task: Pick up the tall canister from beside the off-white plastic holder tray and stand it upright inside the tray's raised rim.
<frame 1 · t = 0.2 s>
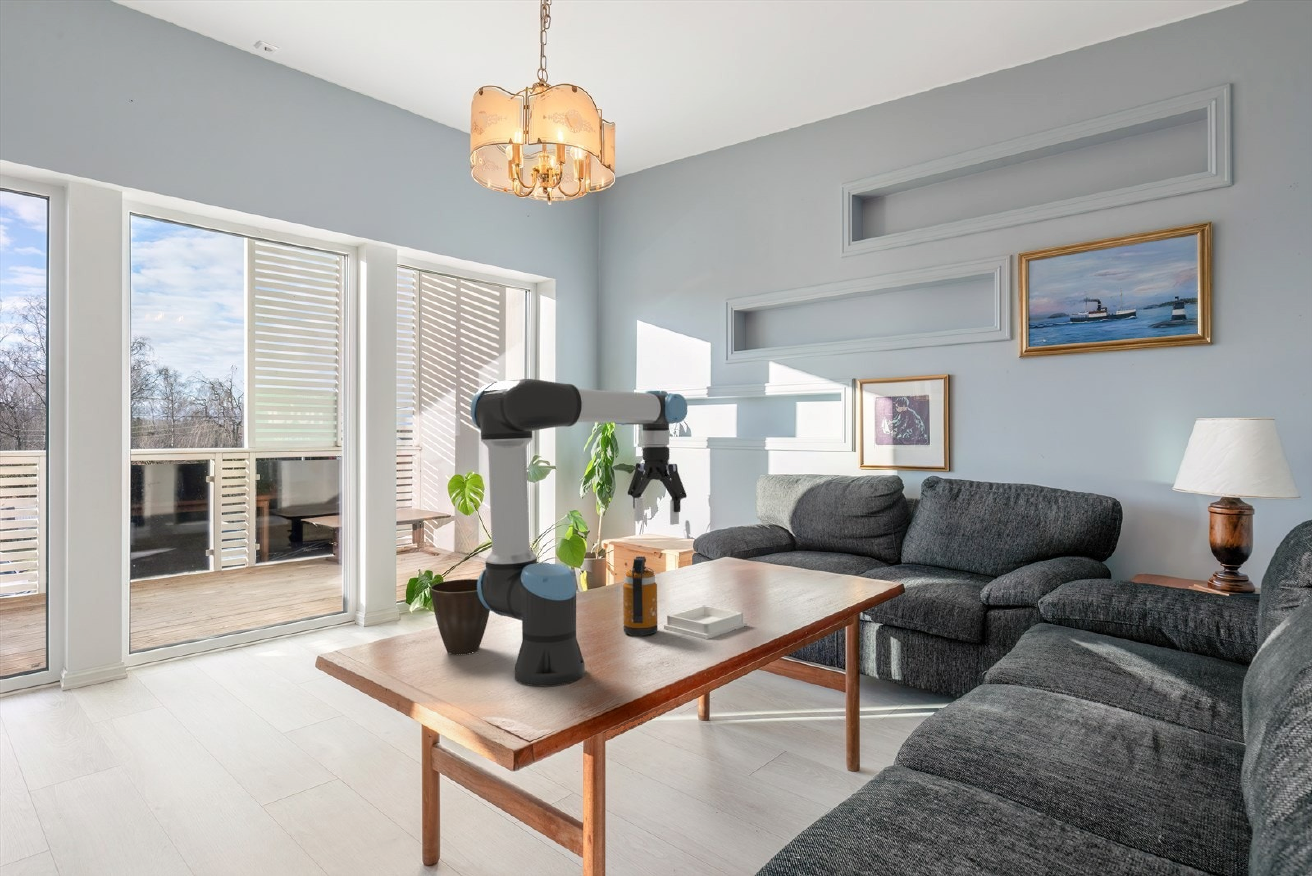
hand: (656, 522, 198), 28 cm above the table, tool pointing down, fingers open, 13 cm apart
holder: (705, 627, 191), on the table
canister: (640, 634, 186), on the table
plant pot: (463, 651, 173), on the table
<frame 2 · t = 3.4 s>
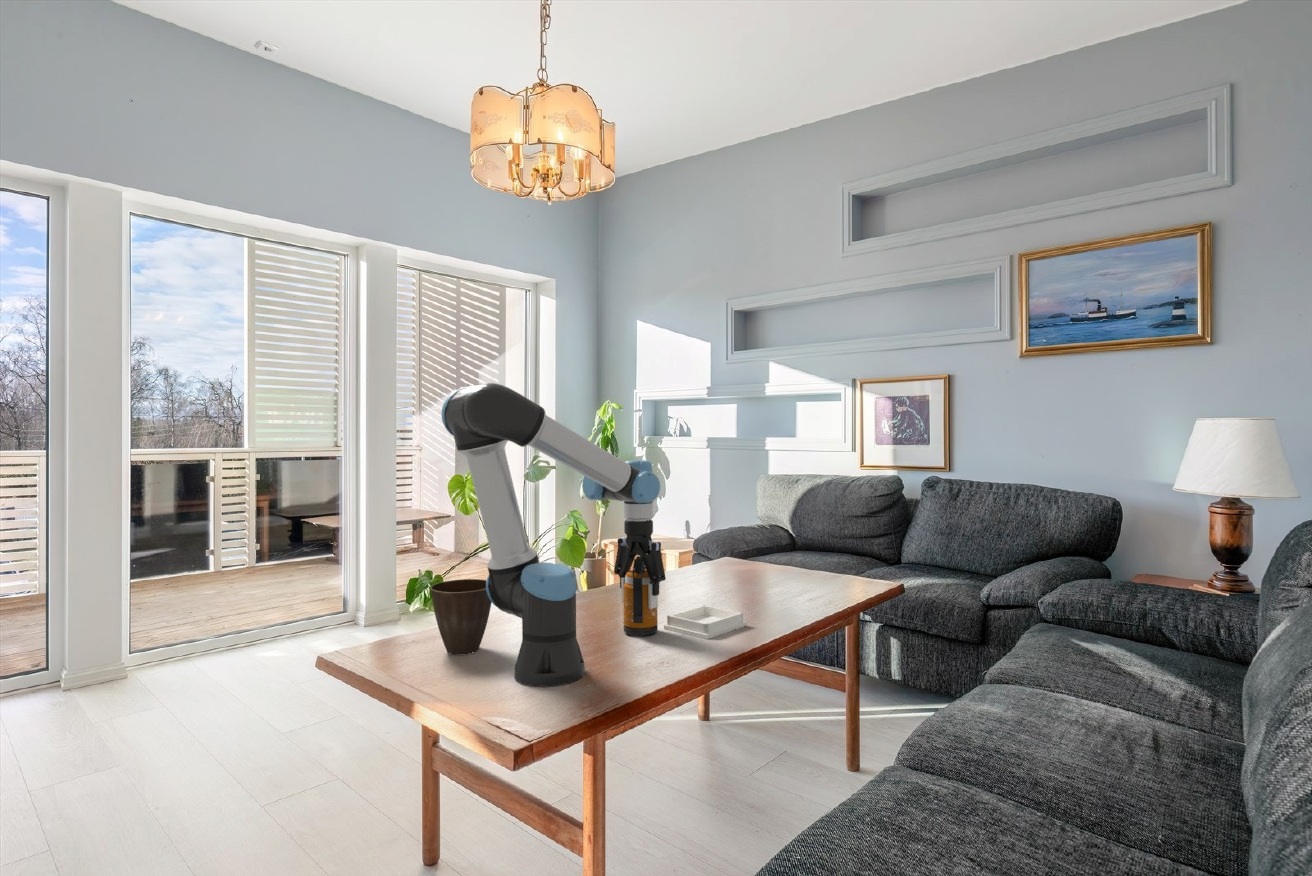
hand: (639, 604, 186), 8 cm above the table, tool pointing down, fingers open, 9 cm apart
canister: (640, 634, 186), on the table, touching gripper
everything else where it was.
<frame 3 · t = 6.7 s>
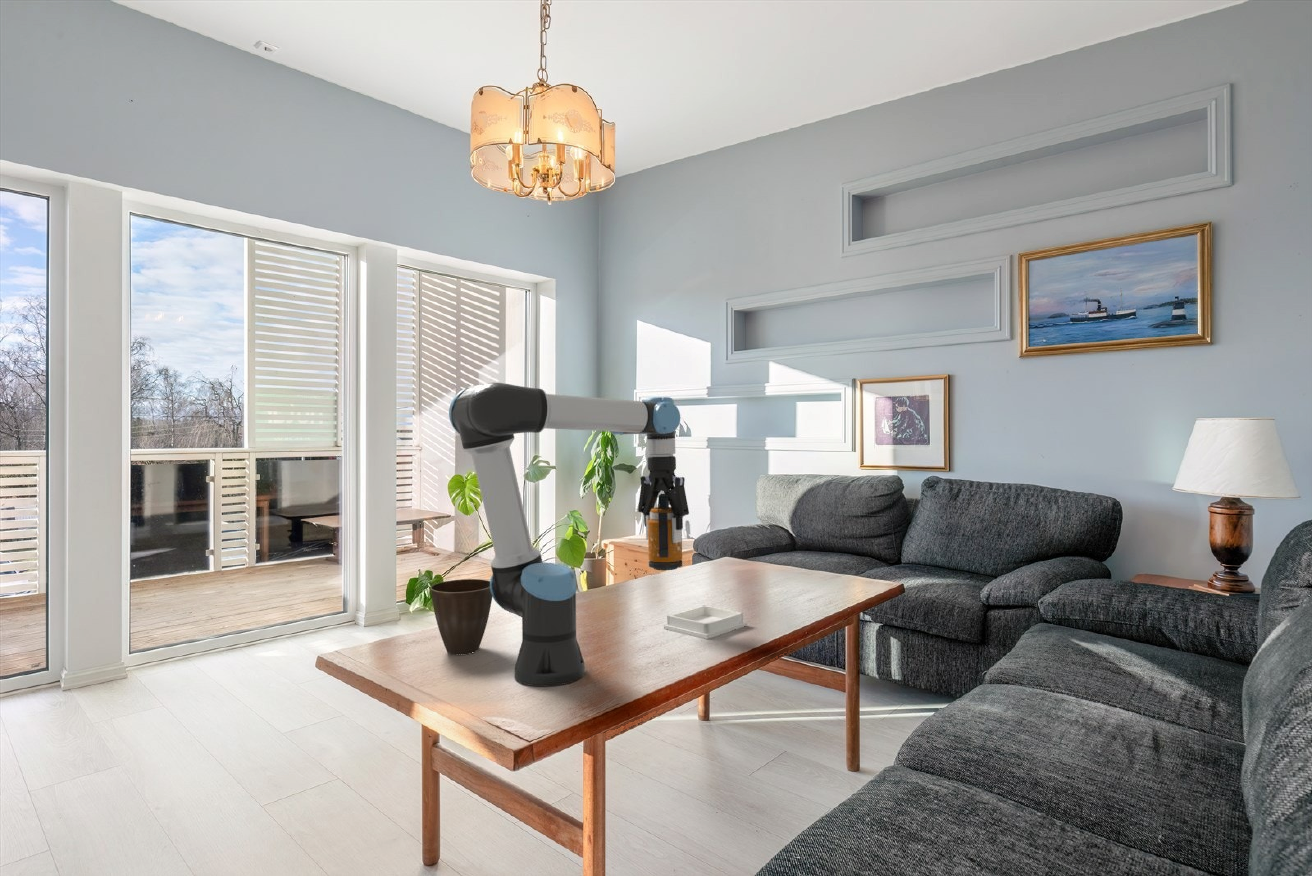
hand: (663, 540, 188), 24 cm above the table, tool pointing down, fingers closed on canister, 9 cm apart
canister: (665, 569, 188), point 16 cm above the table, touching gripper
everything else where it was.
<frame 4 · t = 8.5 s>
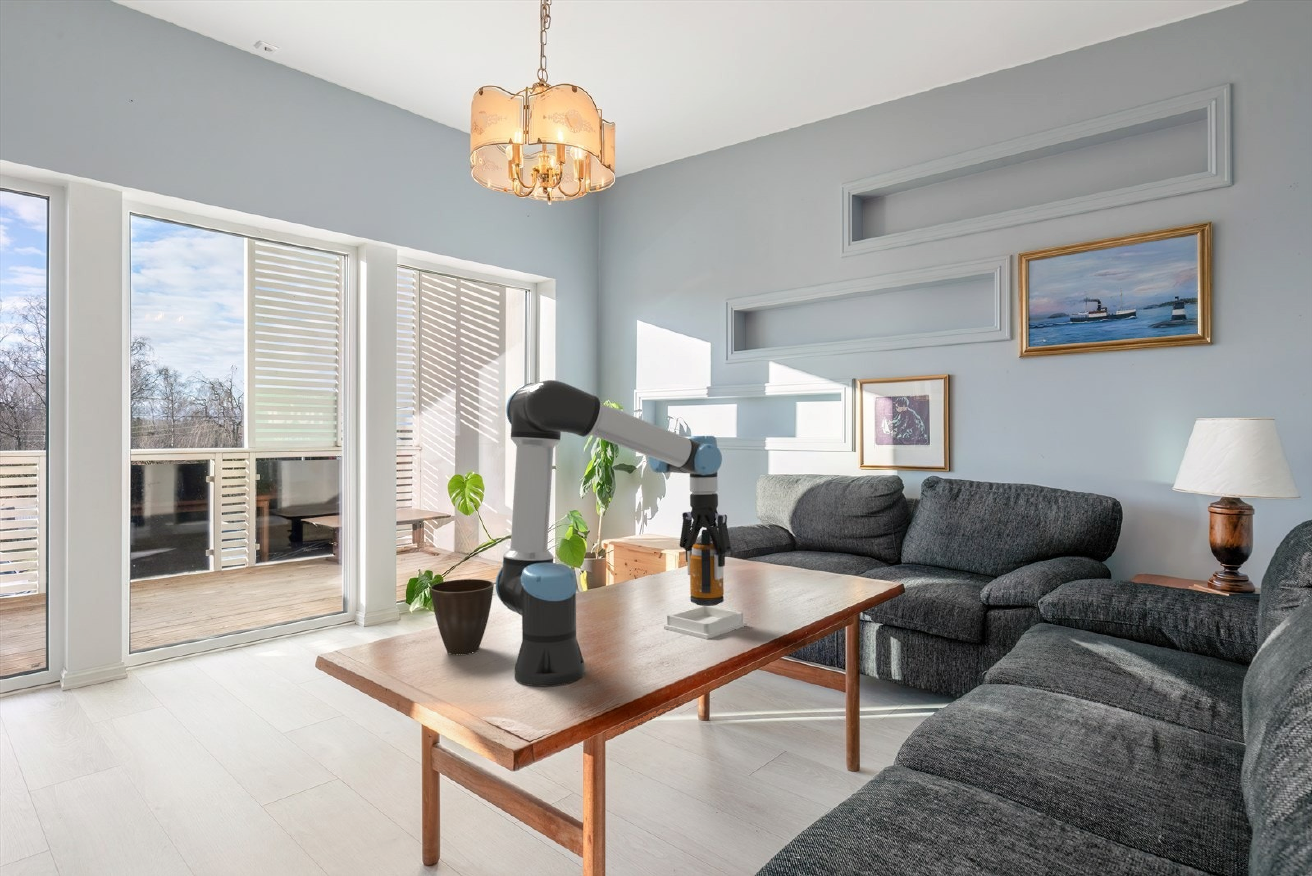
hand: (705, 576, 191), 14 cm above the table, tool pointing down, fingers closed on canister, 9 cm apart
canister: (706, 604, 191), point 6 cm above the table, touching gripper
everything else where it was.
when the fingers open (10 cm above the table, at t = 9.7 s): canister drops 1 cm, resting on holder.
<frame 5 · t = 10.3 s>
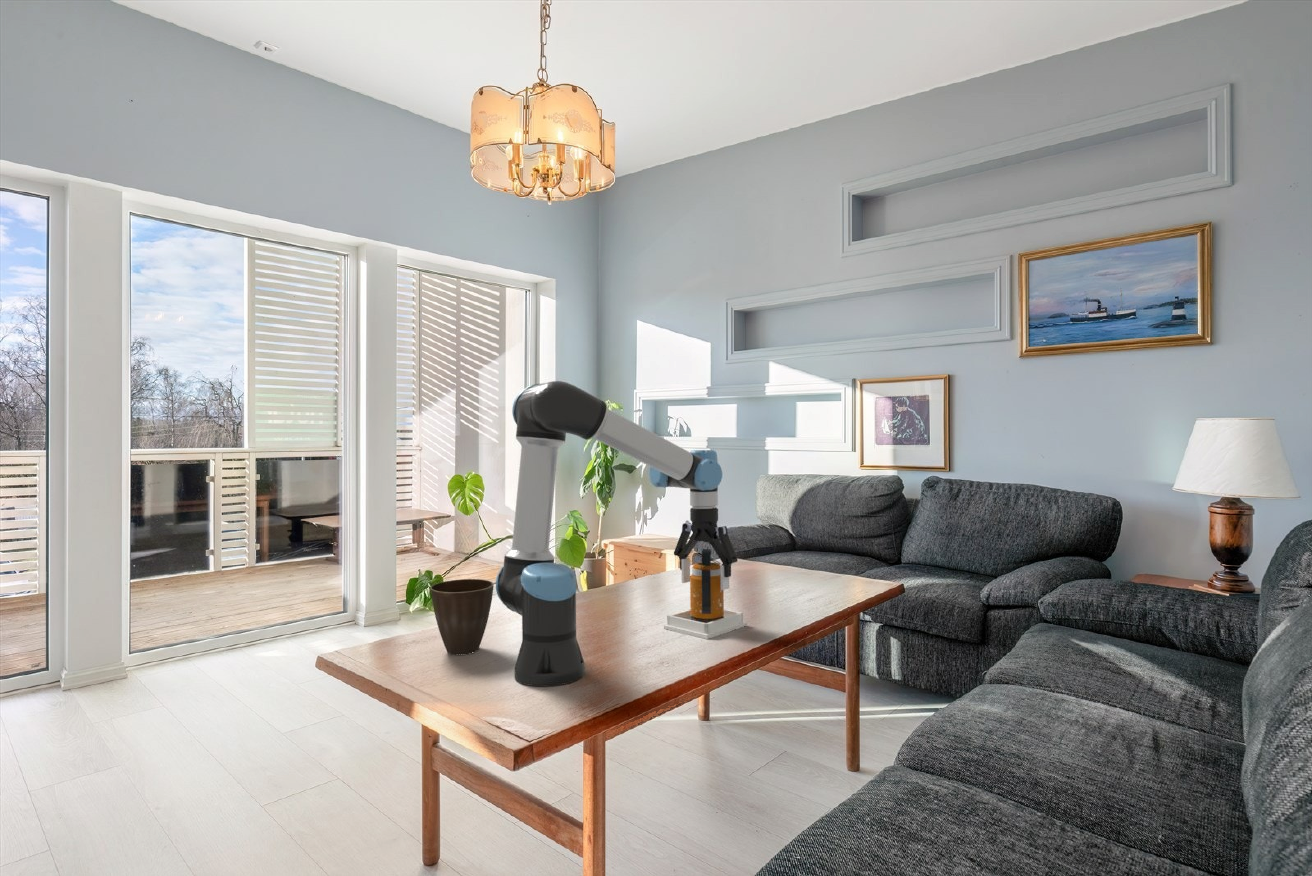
hand: (705, 585, 191), 11 cm above the table, tool pointing down, fingers open, 13 cm apart
canister: (707, 625, 191), point 1 cm above the table, touching holder
everything else where it was.
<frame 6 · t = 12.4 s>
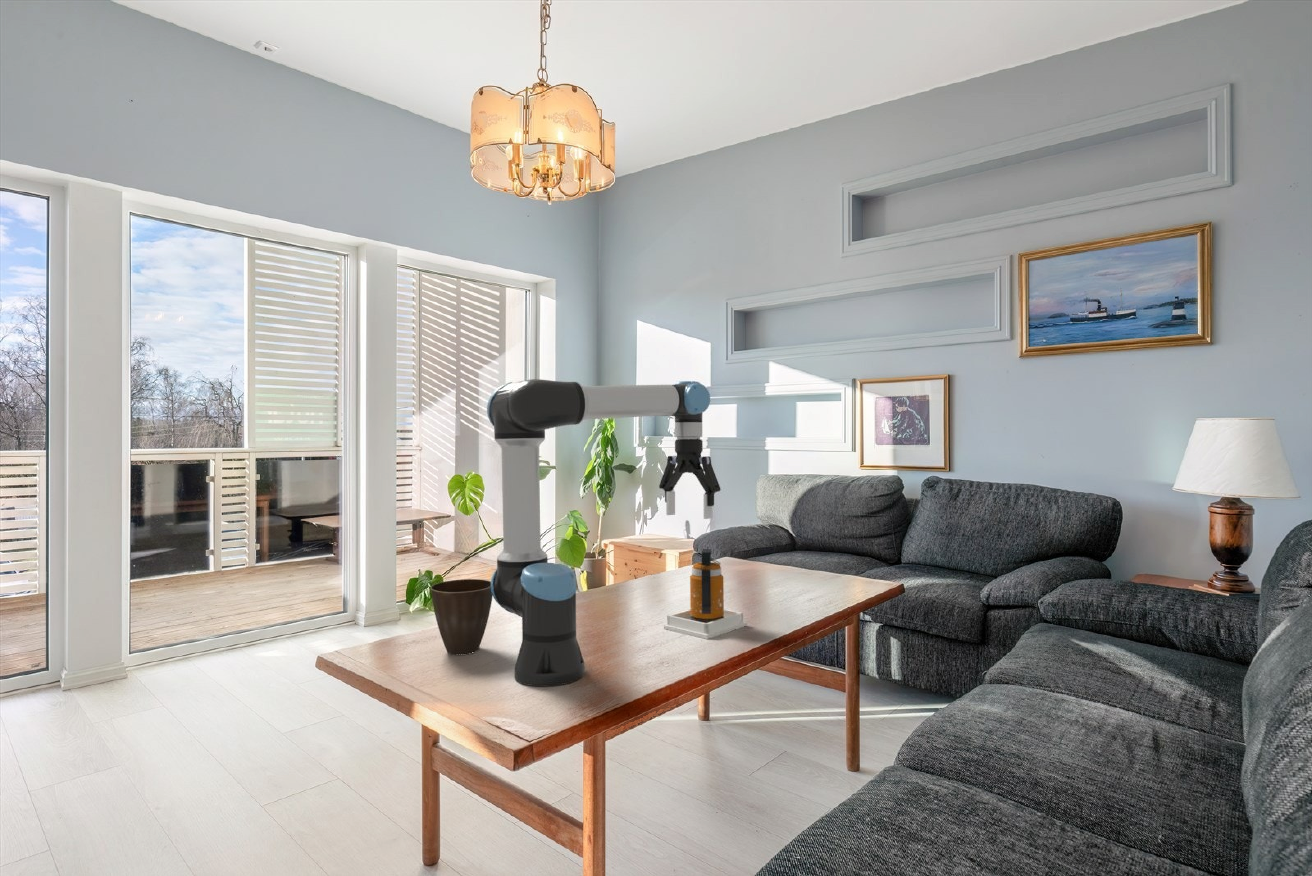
hand: (688, 516, 193), 30 cm above the table, tool pointing down, fingers open, 13 cm apart
nothing on the table moved.
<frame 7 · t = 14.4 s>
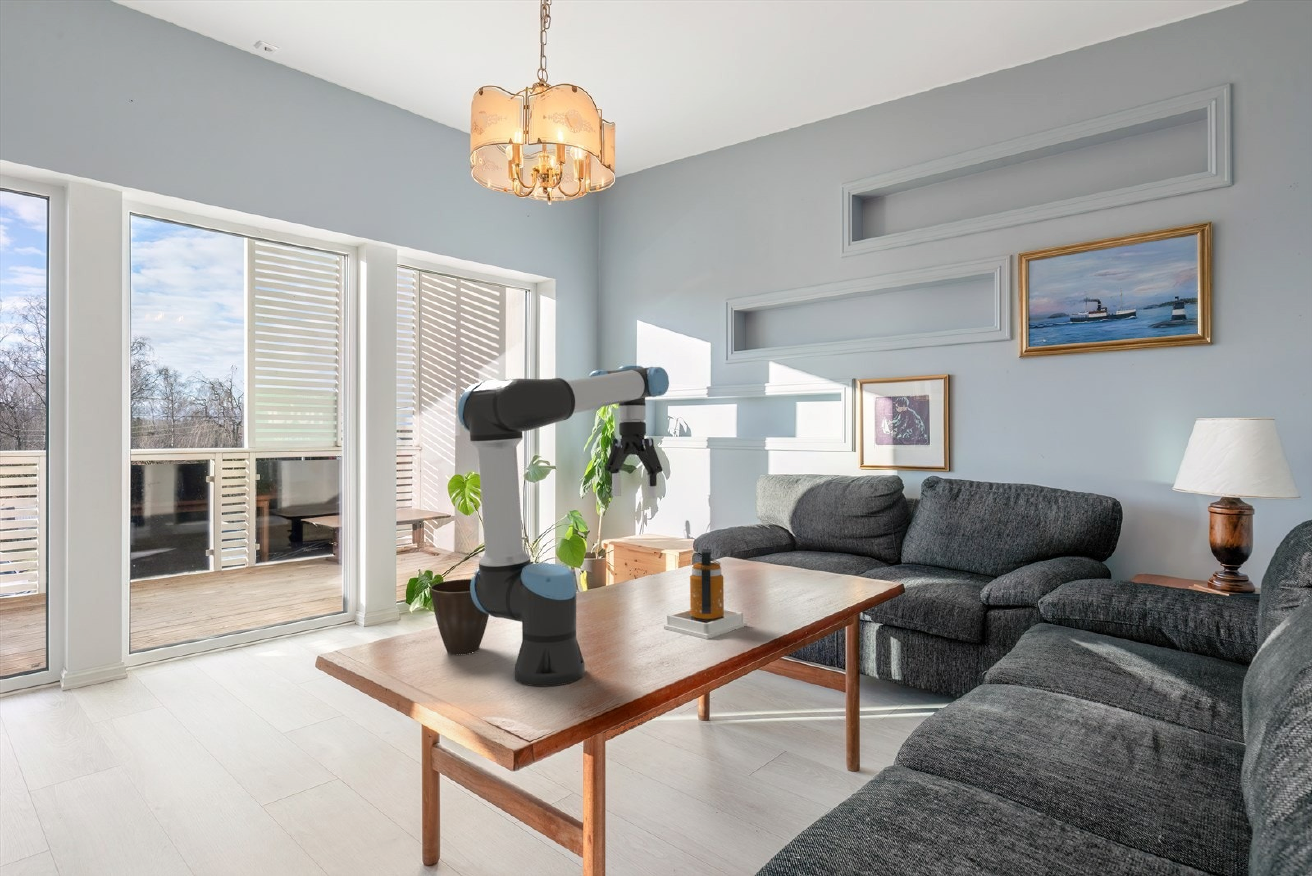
hand: (633, 497, 199), 35 cm above the table, tool pointing down, fingers open, 13 cm apart
nothing on the table moved.
at the end: canister 0.9 cm off-centre on the holder, point 0.8 cm above the holder's base; canister tilted 0°; the gripper is holding nothing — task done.
